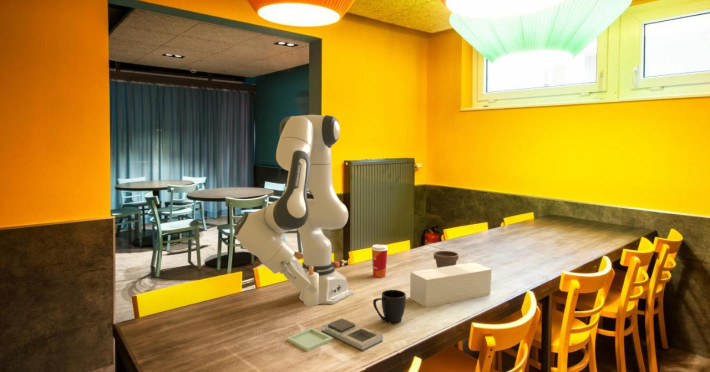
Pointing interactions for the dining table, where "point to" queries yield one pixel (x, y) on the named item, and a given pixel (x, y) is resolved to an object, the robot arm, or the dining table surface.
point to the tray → (309, 339)
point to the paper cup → (379, 260)
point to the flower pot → (445, 258)
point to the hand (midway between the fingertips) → (313, 287)
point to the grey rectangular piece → (352, 334)
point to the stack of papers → (449, 284)
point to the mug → (392, 306)
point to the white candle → (309, 297)
